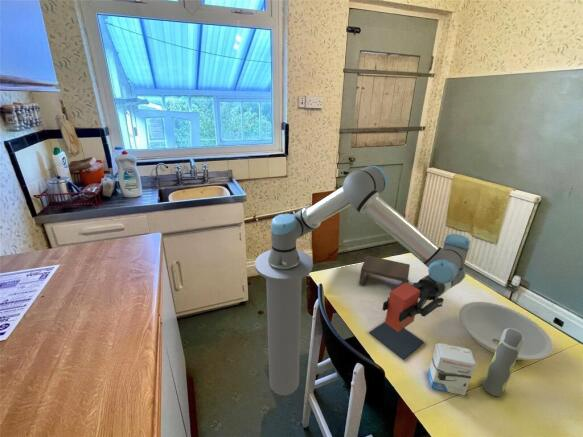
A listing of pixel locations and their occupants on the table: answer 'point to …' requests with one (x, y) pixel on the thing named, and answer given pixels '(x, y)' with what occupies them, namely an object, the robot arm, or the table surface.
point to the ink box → (451, 368)
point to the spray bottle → (503, 362)
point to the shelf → (384, 269)
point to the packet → (401, 305)
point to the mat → (397, 340)
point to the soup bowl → (495, 319)
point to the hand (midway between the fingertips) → (392, 312)
